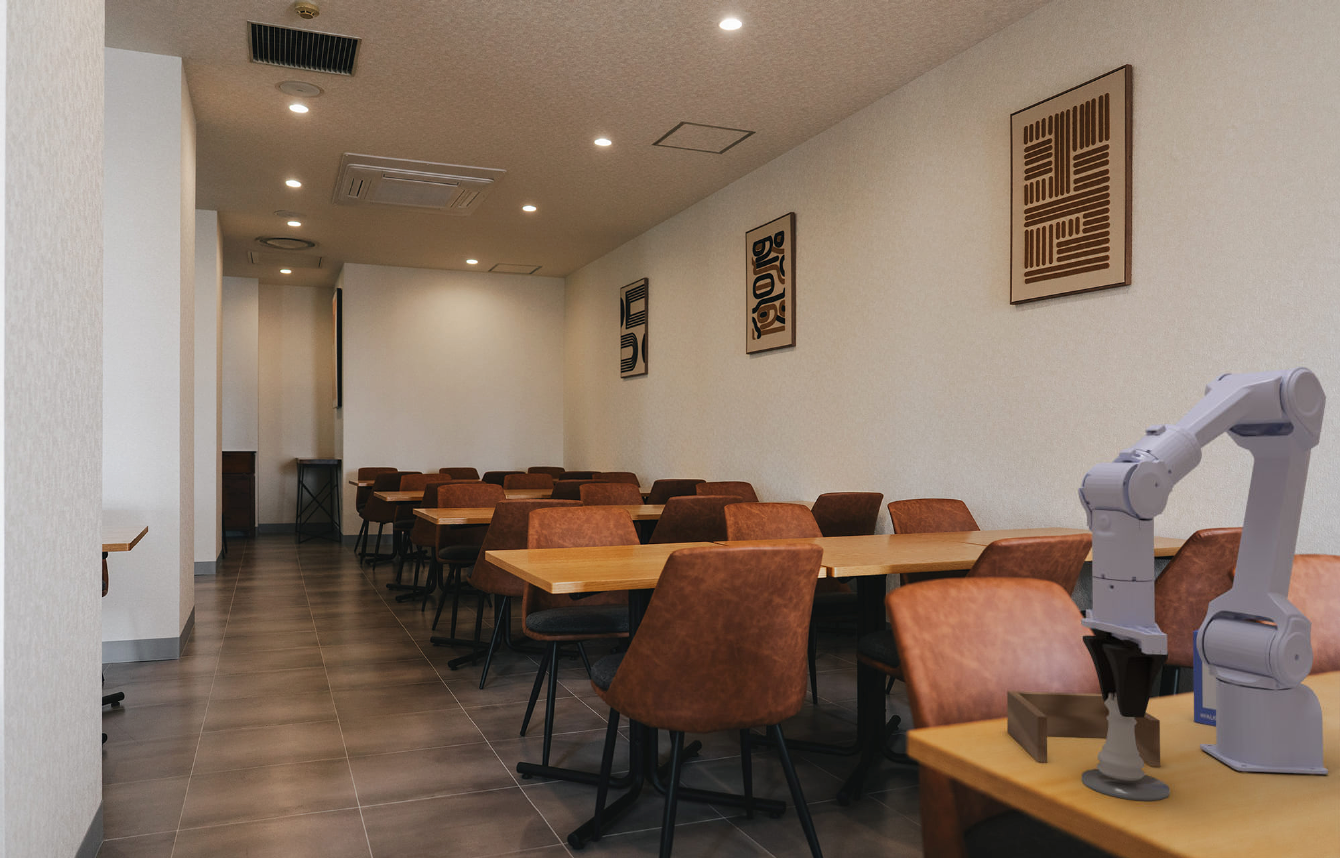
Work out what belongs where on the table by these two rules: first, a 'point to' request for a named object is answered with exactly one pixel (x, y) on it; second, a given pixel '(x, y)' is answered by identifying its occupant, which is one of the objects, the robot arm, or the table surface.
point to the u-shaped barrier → (1071, 722)
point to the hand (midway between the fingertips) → (1123, 711)
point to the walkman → (1203, 689)
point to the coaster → (1126, 786)
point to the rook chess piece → (1120, 746)
